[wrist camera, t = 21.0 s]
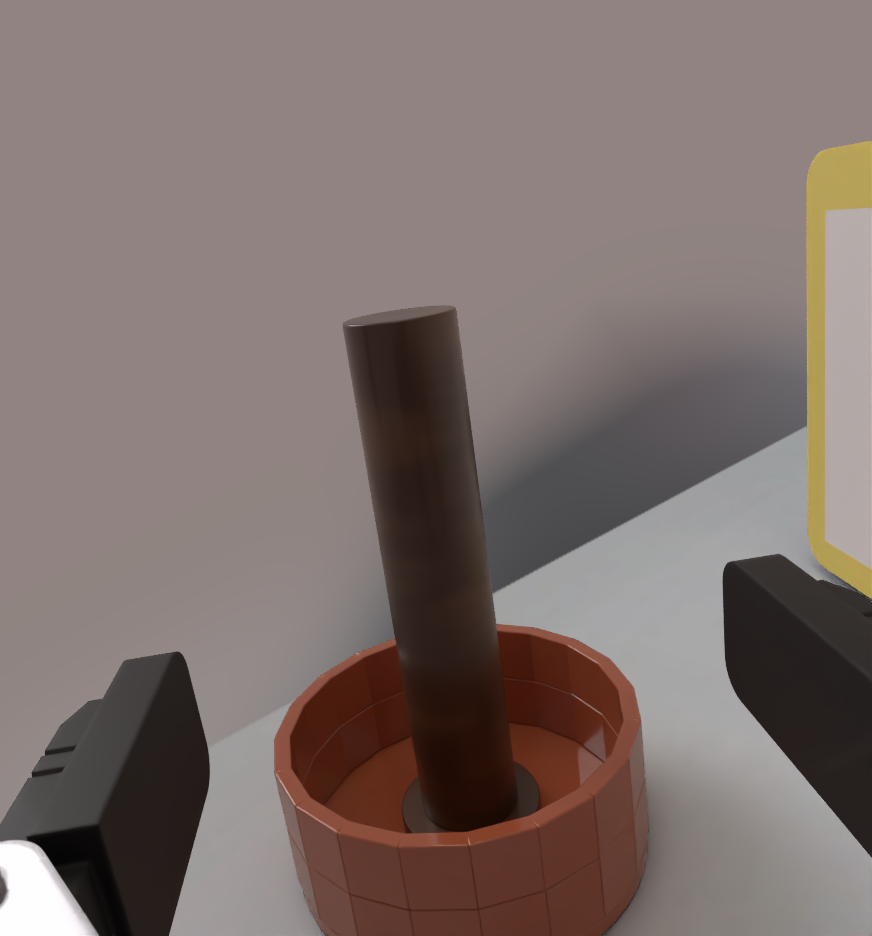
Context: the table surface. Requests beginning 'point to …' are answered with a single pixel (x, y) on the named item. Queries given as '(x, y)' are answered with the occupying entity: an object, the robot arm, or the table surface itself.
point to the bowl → (481, 850)
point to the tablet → (840, 362)
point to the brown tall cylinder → (436, 569)
